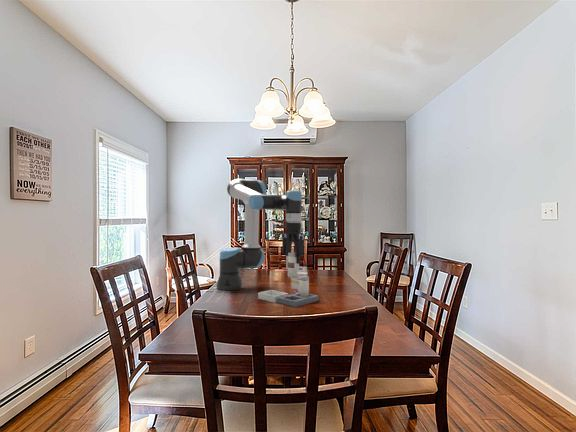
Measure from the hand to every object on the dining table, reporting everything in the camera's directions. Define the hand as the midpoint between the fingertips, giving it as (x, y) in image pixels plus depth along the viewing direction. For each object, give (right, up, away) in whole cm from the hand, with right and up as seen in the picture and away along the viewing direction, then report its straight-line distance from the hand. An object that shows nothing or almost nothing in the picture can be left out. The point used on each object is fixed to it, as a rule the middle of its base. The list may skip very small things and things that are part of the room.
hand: (292, 269), depth 179 cm
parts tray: (-10, -17, +8) cm, 21 cm away
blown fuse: (0, -4, 0) cm, 4 cm away
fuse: (+6, -17, +6) cm, 19 cm away
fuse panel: (+3, -17, +3) cm, 17 cm away
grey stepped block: (+4, -17, +22) cm, 28 cm away
